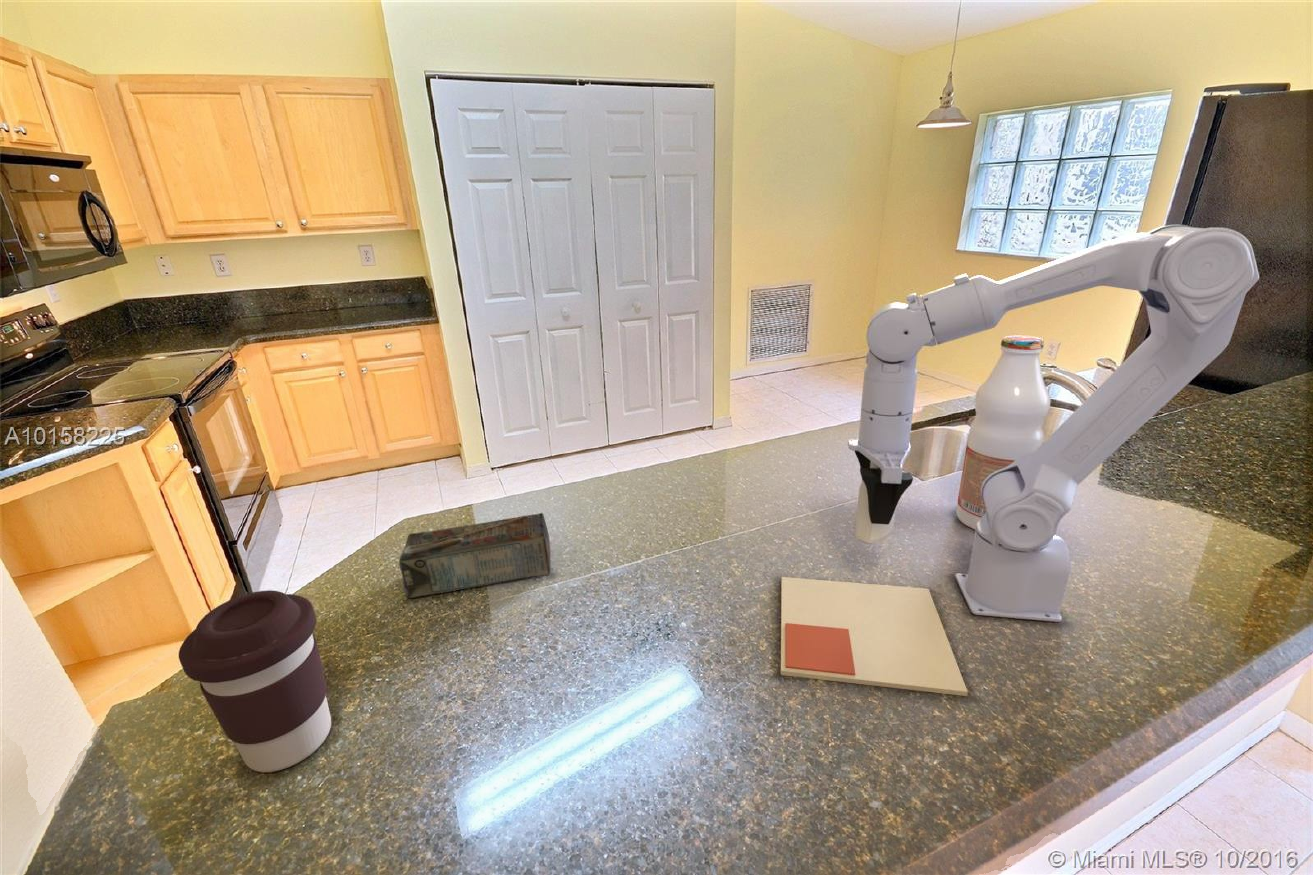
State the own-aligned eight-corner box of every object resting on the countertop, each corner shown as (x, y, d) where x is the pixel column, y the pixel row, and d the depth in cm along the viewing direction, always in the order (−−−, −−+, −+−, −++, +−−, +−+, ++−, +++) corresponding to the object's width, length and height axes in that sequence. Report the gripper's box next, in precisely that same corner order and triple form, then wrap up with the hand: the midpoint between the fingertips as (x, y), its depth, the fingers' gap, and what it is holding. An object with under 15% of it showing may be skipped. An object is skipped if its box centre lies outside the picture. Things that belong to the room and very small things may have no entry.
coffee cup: (265, 705, 60) (219, 584, 54) (363, 696, 60) (327, 574, 55) (202, 795, 50) (140, 658, 45) (319, 782, 51) (271, 646, 46)
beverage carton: (415, 568, 83) (406, 527, 80) (550, 547, 86) (545, 507, 84) (405, 601, 75) (395, 557, 73) (553, 576, 79) (548, 534, 77)
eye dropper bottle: (903, 540, 72) (914, 452, 68) (861, 546, 71) (869, 457, 67) (885, 523, 76) (894, 439, 72) (845, 528, 75) (852, 443, 71)
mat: (927, 592, 72) (928, 587, 72) (967, 696, 57) (968, 690, 57) (781, 580, 76) (781, 575, 76) (780, 675, 60) (780, 669, 60)
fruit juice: (965, 534, 84) (997, 345, 74) (947, 504, 93) (974, 332, 83) (1036, 538, 83) (1079, 345, 73) (1011, 507, 91) (1046, 331, 81)
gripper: (845, 390, 75) (838, 484, 80) (857, 428, 62) (848, 538, 67) (903, 391, 74) (892, 487, 79) (928, 430, 61) (913, 542, 65)
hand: (876, 511), depth 73 cm, fingers closed on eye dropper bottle, 5 cm apart
